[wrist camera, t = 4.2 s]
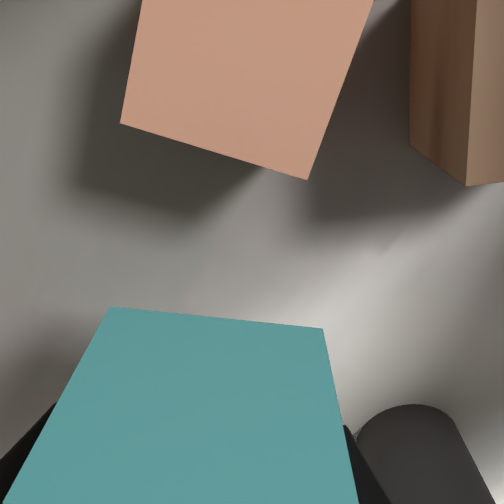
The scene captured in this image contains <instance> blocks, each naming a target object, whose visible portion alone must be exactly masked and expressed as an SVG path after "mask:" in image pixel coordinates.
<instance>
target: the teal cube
mask: <svg viewBox="0 0 504 504" xmlns="http://www.w3.org/2000/svg"><path fill="white" fill-rule="evenodd" d="M3 504H359V502H358V497H357V492H356V487H355V482H354V478H353V473H352V468H351V463H350V458H349V453H348V449H347V444H346V439H345V434H344V429H343V424H342V419H341V415H340V410H339V405H338V400H337V395H336V390H335V386H334V381H333V376H332V371H331V366H330V361H329V357H328V352H327V347H326V342H325V337H324V332H323V329H321V328H312V327H302V326H293V325H283V324H274V323H264V322H254V321H245V320H235V319H226V318H216V317H207V316H197V315H187V314H178V313H168V312H159V311H149V310H140V309H130V308H121V307H111V306H110V307H109V309H108V311H107V313H106V314H105V316H104V318H103V320H102V322H101V323H100V325H99V327H98V329H97V331H96V333H95V334H94V336H93V338H92V340H91V342H90V344H89V345H88V347H87V349H86V351H85V353H84V355H83V356H82V358H81V360H80V362H79V364H78V366H77V367H76V369H75V371H74V373H73V375H72V377H71V378H70V380H69V382H68V384H67V386H66V387H65V389H64V391H63V393H62V395H61V397H60V398H59V400H58V402H57V404H56V406H55V408H54V409H53V411H52V413H51V415H50V417H49V419H48V420H47V422H46V424H45V426H44V428H43V430H42V431H41V433H40V435H39V437H38V439H37V441H36V442H35V444H34V446H33V448H32V450H31V451H30V453H29V455H28V457H27V459H26V461H25V462H24V464H23V466H22V468H21V470H20V472H19V473H18V475H17V477H16V479H15V481H14V483H13V484H12V486H11V488H10V490H9V492H8V494H7V495H6V497H5V499H4V501H3Z"/></svg>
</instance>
